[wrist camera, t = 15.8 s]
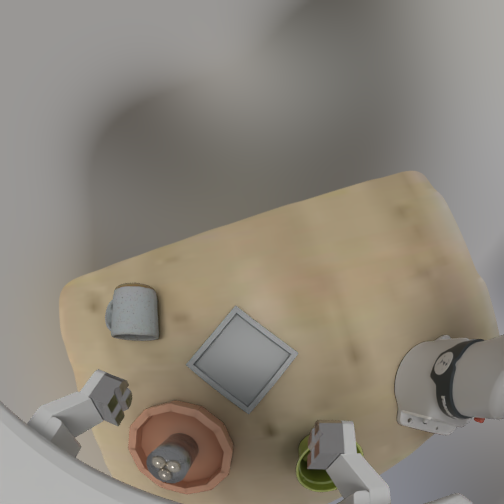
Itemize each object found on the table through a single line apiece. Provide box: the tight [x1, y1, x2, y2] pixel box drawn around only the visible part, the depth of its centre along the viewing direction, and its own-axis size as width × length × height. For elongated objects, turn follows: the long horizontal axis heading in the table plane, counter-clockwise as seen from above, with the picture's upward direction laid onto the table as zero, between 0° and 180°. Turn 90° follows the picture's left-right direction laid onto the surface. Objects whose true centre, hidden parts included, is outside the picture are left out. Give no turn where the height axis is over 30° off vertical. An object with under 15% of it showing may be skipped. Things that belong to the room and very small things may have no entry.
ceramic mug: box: [105, 283, 159, 341], centre depth 38 cm, size 11×8×8 cm
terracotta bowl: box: [128, 400, 234, 494], centre depth 32 cm, size 16×16×4 cm
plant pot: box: [296, 435, 364, 492], centre depth 30 cm, size 9×9×9 cm
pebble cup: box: [146, 433, 199, 483], centre depth 28 cm, size 5×5×10 cm
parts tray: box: [186, 306, 298, 414], centre depth 39 cm, size 12×12×2 cm
